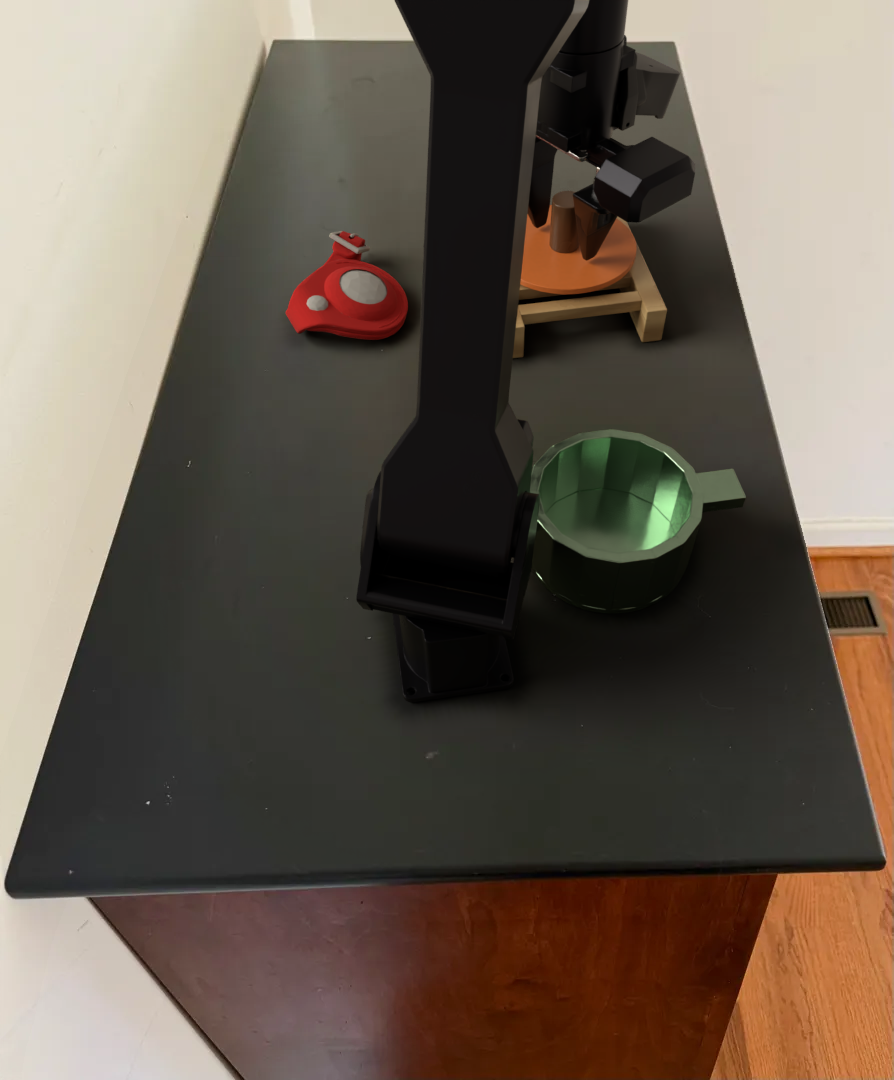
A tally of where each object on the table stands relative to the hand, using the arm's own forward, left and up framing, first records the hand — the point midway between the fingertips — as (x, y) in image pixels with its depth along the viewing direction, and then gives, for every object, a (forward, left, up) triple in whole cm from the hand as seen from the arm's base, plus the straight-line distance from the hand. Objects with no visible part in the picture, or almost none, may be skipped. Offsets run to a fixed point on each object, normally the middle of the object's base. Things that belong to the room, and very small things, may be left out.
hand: (564, 241), depth 72 cm
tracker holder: (+1, +17, -5) cm, 18 cm away
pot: (-27, +3, -4) cm, 28 cm away
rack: (0, 0, -4) cm, 4 cm away
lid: (0, 0, -1) cm, 1 cm away
